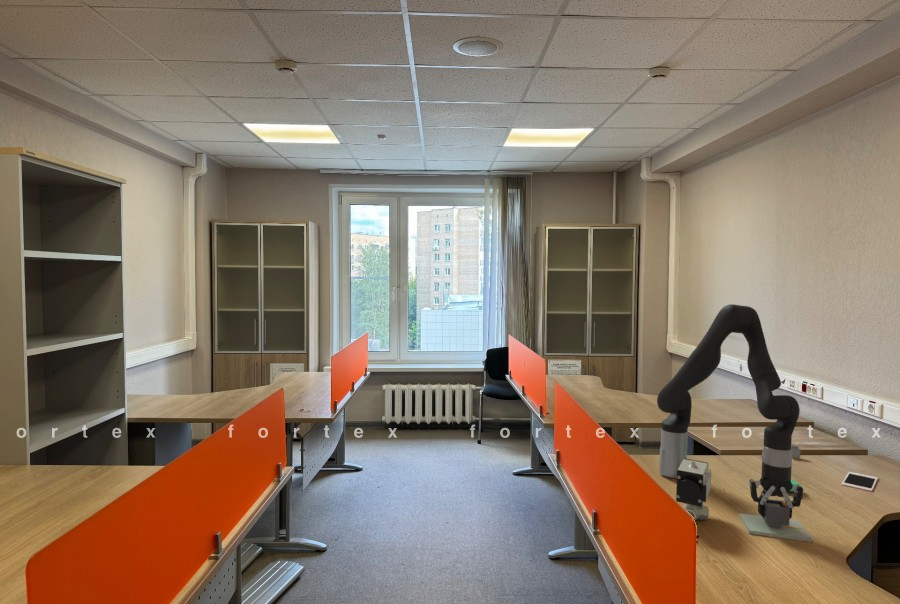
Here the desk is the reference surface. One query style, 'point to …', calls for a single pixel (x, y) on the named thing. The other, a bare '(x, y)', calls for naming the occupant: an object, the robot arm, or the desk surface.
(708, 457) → the desk surface
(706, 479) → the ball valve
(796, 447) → the lighter
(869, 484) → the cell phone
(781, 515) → the grey open box
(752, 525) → the grey base with post
